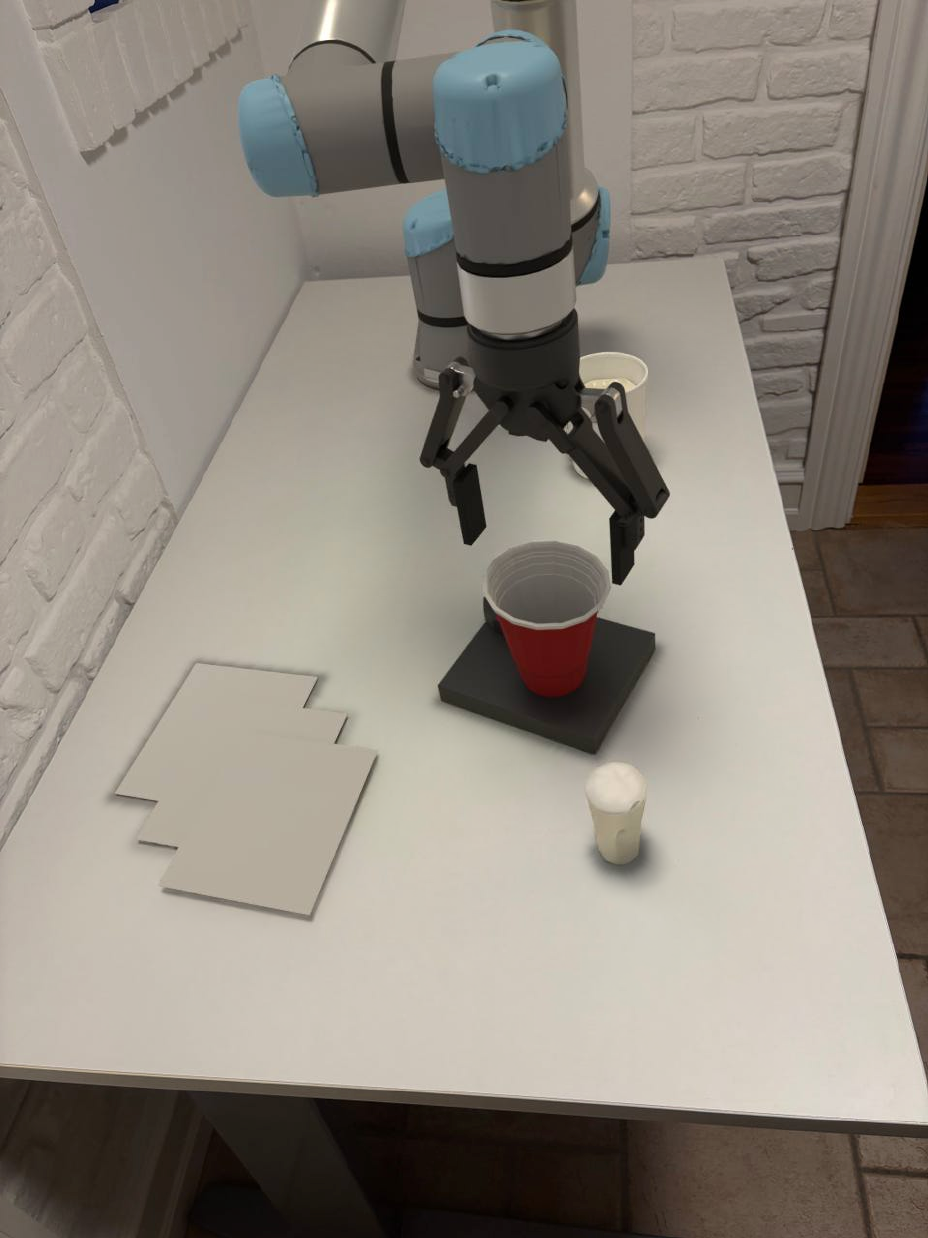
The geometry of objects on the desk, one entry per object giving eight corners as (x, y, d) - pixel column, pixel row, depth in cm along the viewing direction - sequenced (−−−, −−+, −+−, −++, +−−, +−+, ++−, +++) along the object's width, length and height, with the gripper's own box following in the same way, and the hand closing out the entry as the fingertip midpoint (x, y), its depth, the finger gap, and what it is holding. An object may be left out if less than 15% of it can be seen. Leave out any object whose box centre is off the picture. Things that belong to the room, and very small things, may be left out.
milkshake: (613, 890, 74) (609, 815, 67) (580, 838, 78) (572, 762, 71) (664, 865, 75) (664, 789, 68) (628, 815, 79) (626, 738, 72)
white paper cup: (610, 496, 110) (606, 406, 102) (550, 466, 116) (542, 379, 108) (666, 457, 114) (666, 367, 106) (605, 430, 120) (601, 343, 112)
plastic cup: (609, 724, 83) (604, 626, 75) (488, 716, 86) (470, 620, 78) (620, 636, 91) (616, 538, 83) (508, 631, 93) (494, 535, 85)
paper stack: (65, 872, 82) (62, 867, 82) (196, 663, 99) (194, 658, 99) (311, 919, 76) (309, 915, 75) (407, 687, 93) (405, 682, 92)
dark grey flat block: (506, 600, 100) (502, 572, 97) (658, 644, 92) (658, 614, 90) (434, 698, 91) (427, 670, 89) (594, 755, 84) (592, 725, 81)
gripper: (722, 309, 61) (709, 561, 75) (397, 270, 72) (441, 496, 86) (678, 368, 56) (674, 623, 71) (340, 317, 67) (396, 546, 82)
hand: (546, 554), depth 79 cm, fingers open, 13 cm apart
